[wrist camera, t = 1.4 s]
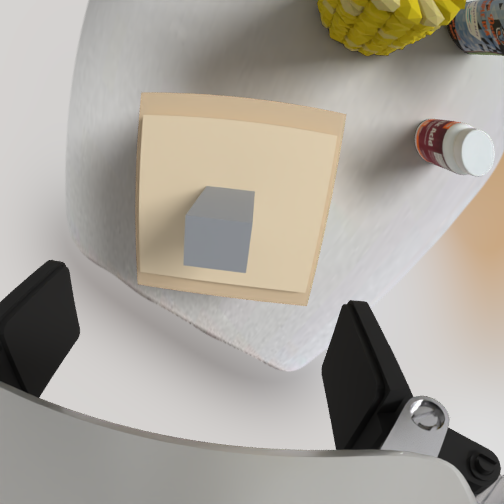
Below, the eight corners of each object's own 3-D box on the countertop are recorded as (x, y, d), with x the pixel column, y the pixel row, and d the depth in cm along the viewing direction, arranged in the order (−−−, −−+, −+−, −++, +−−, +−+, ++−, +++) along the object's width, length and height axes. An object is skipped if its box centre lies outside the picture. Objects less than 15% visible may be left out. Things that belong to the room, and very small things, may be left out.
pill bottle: (429, 109, 26) (477, 112, 18) (456, 140, 27) (505, 153, 19) (404, 141, 27) (448, 153, 20) (433, 172, 28) (478, 192, 21)
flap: (145, 114, 18) (98, 117, 12) (335, 135, 18) (369, 145, 12) (142, 268, 22) (108, 320, 16) (304, 289, 23) (317, 348, 17)
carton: (179, 98, 26) (140, 92, 17) (318, 114, 27) (346, 114, 18) (170, 237, 32) (137, 286, 23) (294, 252, 33) (306, 307, 23)
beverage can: (442, -3, 20) (507, -32, 9) (490, 31, 20) (559, 20, 9) (435, 39, 22) (506, 19, 11) (484, 72, 23) (558, 71, 12)
